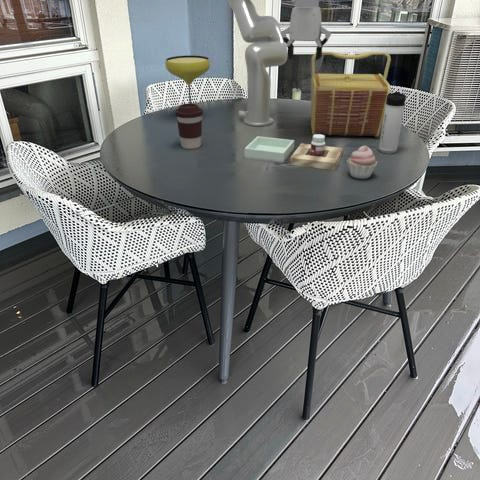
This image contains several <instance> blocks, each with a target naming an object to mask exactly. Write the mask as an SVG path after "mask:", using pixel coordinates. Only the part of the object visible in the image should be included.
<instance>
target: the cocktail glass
mask: <svg viewBox="0 0 480 480" xmlns="http://www.w3.org/2000/svg"><path fill="white" fill-rule="evenodd" d="M210 64H211V61H210V57H207V56H203V55H176V56H171V57H167V58H166V59H165V68H166V71H168V72H169V73H170V74H172V75H173V76H175V77H178V78H179V79H181V80H183V81H184V83H185V84H186V85H188V98H189V103H192V98H191V97H192V96H191V85H192V84H193V82H194V81H195V80H196V79H197V78H200V77H201V76H202V75H204V74H205V73H206V72H208V71H209V69H210V66H211V65H210ZM202 117H203V116H201V119H203V118H204V117H203V118H202Z"/></svg>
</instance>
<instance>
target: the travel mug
mask: <svg viewBox="0 0 480 480" xmlns="http://www.w3.org/2000/svg"><path fill="white" fill-rule="evenodd" d="M406 100H407V96H406V94H404V93H402V92H400V91H394V92H390V94H388V95H387V100H386V106H385V111H384V118H383V122H382V126H381V130H380V138H379V144H378V151H379V152H380V153H383V154H386V155H389V154H390V155H392V154H395V153H396V152H398V151H397V150H398V146H399V140H400V134H401V128H402V123H403V118H404V111H405V106H406Z"/></svg>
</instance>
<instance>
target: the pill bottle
mask: <svg viewBox="0 0 480 480" xmlns="http://www.w3.org/2000/svg"><path fill="white" fill-rule="evenodd" d="M325 139H326V135H321V134H315V135H313V134H312V140H311V142H310V144H311V152H310V156H318V157H324V153H325V146H326V142H325Z"/></svg>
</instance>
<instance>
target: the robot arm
mask: <svg viewBox="0 0 480 480" xmlns="http://www.w3.org/2000/svg"><path fill="white" fill-rule="evenodd" d="M226 1H227V3H228V4H229V7H231V10H232V11H233V14H234V17H235V19H236V23H237V26H238V29H239V31H240V35H241V38H242V40H243V41H244V42H245V43H249V44H248V46H247V47H245V50H244V58H245V59H244V60H245V64H246V73H247V77H246V78H247V84H246V85H247V110H239V111H238V116H239V117H244V119H243V123H244V124H245V125H248V126H252V127H265V126H270V125H272V124H273V123H274V119H273V117H271V87H272V86H271V82H272V81H271V76H270V75H269V73H268V71H267V68H272V67H279V66H283V65H284V64H285V63H286V62H287V61H288V59H293V58H294V53H295V52H294V49H295V47H294V43H295V42H296V41H297V42H315V44H316V45H317V46H316V49H315V53H316V58H315V61H319V60H320V59H321V57H322V56H323V54H322V51H323V47H324V45H325V44H327V43H328V41H329V39H330V38H331V35H332V32H331V31H330V30H328V29H326V28H325V27H323V26H322V12H321V7H320V6H319V5H320V4H319V3H320V2H319V1H320V0H290V1H291V2H290V3H291V4H294V7H292V9H291V14H290V22H289V27H287V28H285V29H284V30H282V29H281V27H280V24H279V21H278V20H277V19H276V18H275V17H273V16H271V15H259V14H258V13H257V10H256V7H255V4H254V3H253V2H252V0H226ZM287 33H289V34H288V35H289V36H288V35H287ZM322 34H324V35H325V36H324V38H323V39H321V38H322Z"/></svg>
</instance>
